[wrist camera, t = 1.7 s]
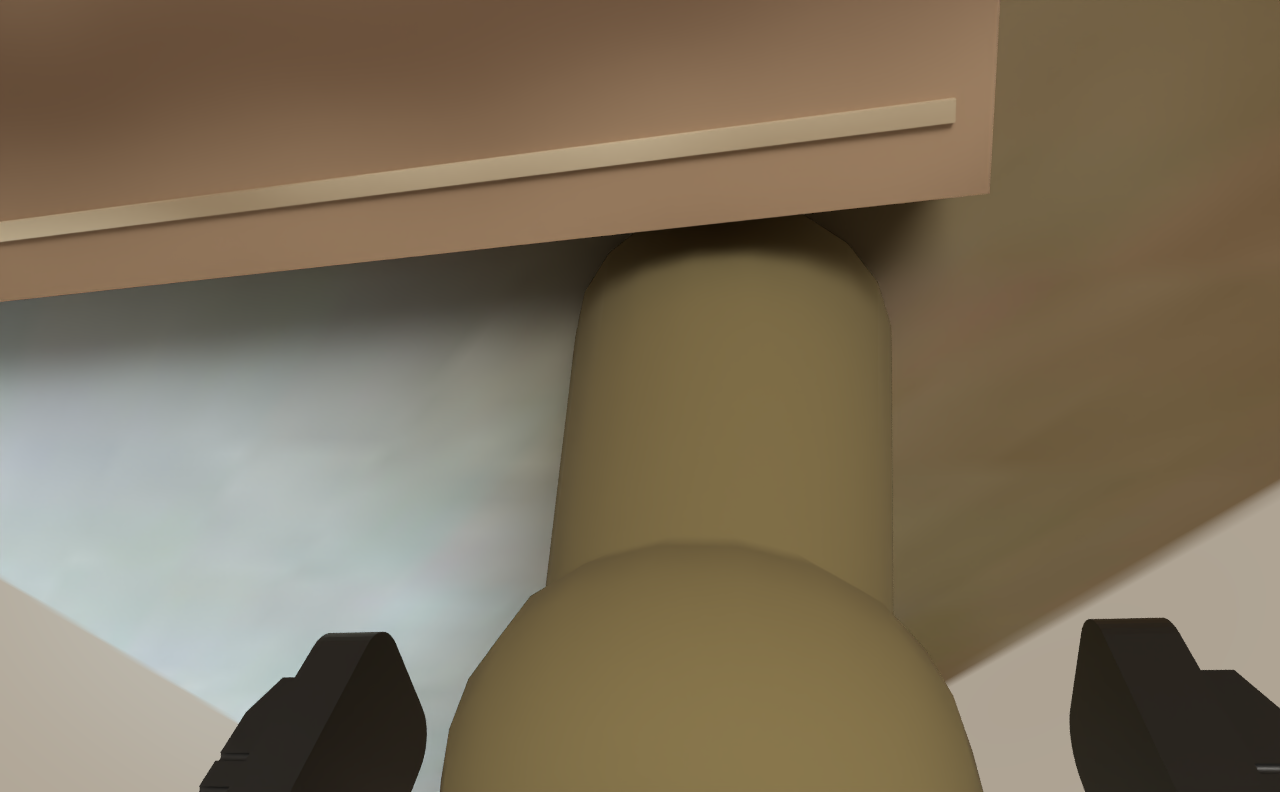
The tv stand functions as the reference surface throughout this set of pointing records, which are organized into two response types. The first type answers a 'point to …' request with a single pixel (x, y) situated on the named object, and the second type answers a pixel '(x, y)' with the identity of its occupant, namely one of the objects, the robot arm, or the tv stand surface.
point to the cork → (719, 544)
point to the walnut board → (460, 125)
